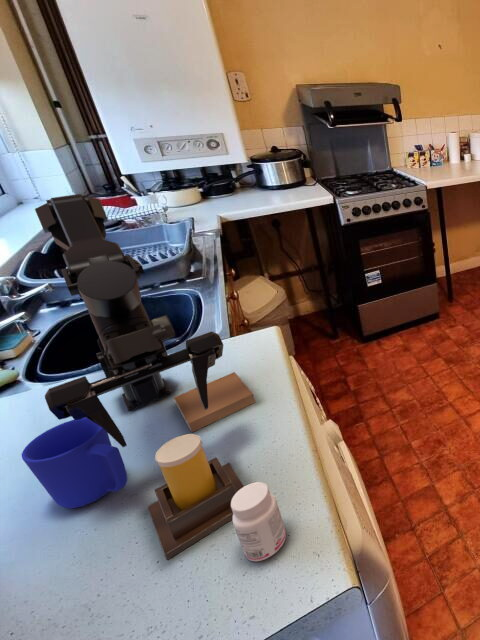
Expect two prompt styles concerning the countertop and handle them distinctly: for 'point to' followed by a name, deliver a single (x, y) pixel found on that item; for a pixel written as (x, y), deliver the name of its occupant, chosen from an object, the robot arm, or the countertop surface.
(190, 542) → the stand
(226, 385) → the wooden pad
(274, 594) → the countertop surface
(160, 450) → the yellow canister
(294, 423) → the countertop surface
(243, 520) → the pill bottle
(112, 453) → the mug
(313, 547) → the countertop surface
